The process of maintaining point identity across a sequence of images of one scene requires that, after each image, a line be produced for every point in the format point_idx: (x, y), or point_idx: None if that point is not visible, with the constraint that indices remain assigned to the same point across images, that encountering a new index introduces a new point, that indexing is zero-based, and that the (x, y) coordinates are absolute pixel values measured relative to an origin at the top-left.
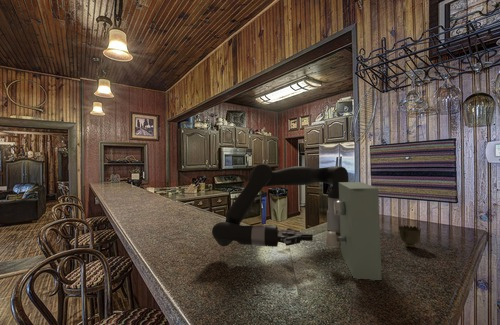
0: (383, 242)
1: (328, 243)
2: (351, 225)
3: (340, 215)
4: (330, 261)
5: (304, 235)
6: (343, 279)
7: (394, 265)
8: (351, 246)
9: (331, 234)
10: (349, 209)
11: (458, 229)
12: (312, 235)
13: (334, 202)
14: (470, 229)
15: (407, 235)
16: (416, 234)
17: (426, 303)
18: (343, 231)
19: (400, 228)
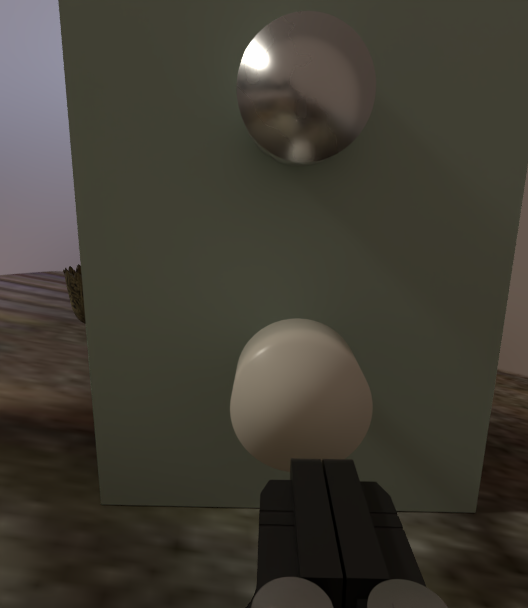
0: (27, 362)
1: (364, 430)
2: (523, 190)
3: (108, 213)
4: (239, 589)
5: (375, 553)
6: (512, 556)
7: None
8: (483, 336)
9: (339, 343)
10: (496, 77)
11: (24, 278)
12: (338, 462)
13: (297, 31)
14: (36, 273)
15: None
16: None
17: (517, 393)
18: (222, 314)
19: (69, 281)
